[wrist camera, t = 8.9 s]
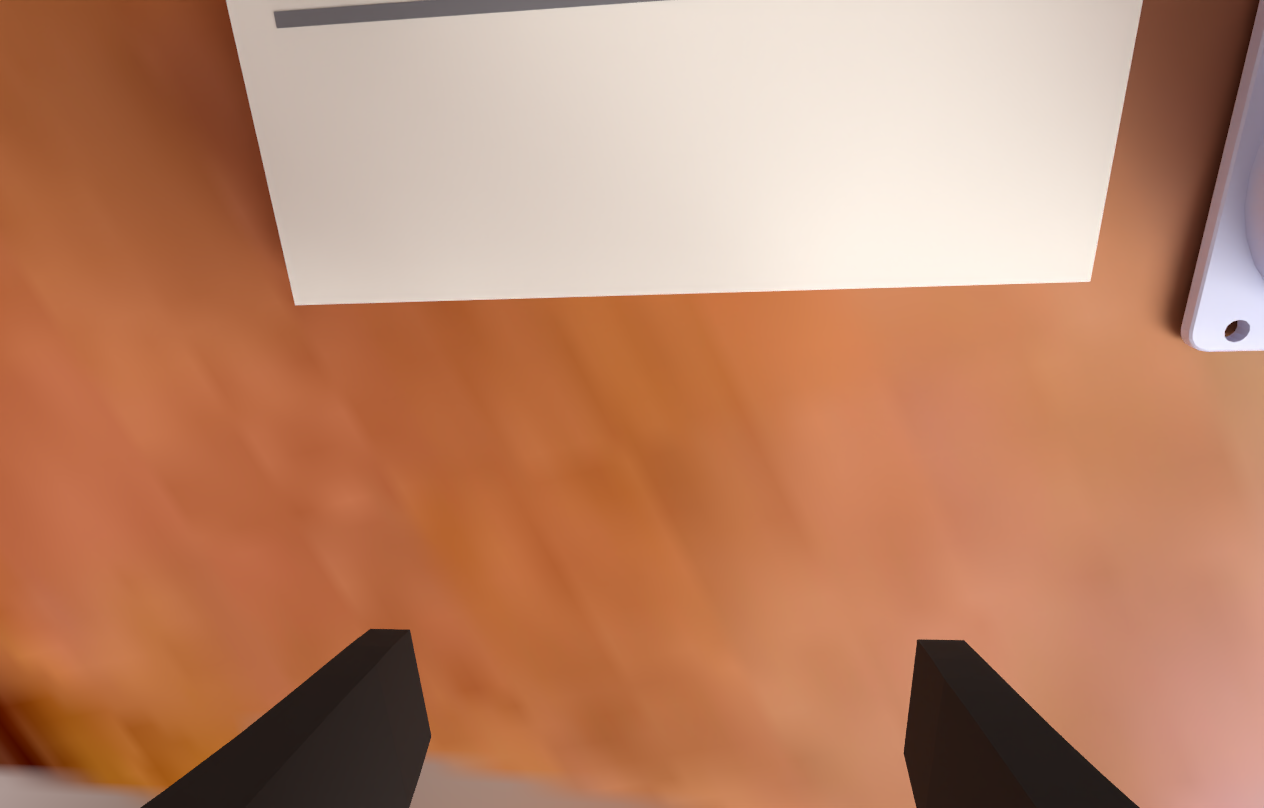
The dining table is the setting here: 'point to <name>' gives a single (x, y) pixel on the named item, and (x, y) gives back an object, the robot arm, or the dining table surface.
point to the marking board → (682, 143)
